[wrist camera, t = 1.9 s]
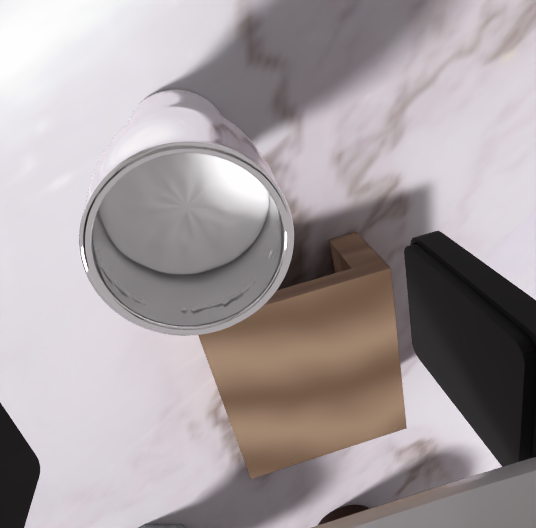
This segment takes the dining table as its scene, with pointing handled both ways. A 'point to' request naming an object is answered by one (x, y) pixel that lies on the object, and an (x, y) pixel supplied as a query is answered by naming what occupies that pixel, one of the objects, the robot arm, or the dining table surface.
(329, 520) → the coffee mug
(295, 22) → the dining table surface
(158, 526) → the coffee maker
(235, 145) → the beer glass
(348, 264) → the walnut shelf stand
